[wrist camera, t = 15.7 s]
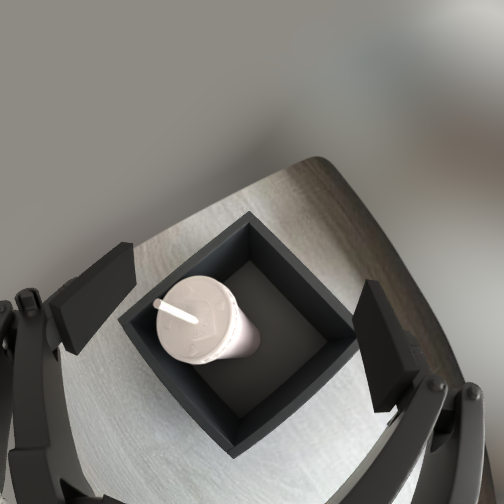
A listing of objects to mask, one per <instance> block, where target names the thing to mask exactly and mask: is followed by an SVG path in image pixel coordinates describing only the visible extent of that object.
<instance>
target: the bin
mask: <svg viewBox="0 0 504 504" xmlns="http://www.w3.org/2000/svg"><path fill="white" fill-rule="evenodd" d="M192 276H207V277H210V278H213V279H215V280H216V281H218V282H220V283H222V284H223V285H224V286H226V287H227V288H228V289H229V290H230V292H231V293H232V294H233V296H234V297H235V300H236V303H237V306H238V307H239V308H240V309H241V310H242V312H243V313H244V314H245V315H246V316H247V317H248V318H249V320H250V321H251V322H252V323H253V324H254V325H255V326H256V327H257V329H258V330H259V333H260V338H261V339H260V345H259V347H258V349H257V350H256V352H255V353H254V354H252V355H251V356H248V357H245V358H232V359H215V360H213V361H211V362H208V363H205V364H190V363H186V362H183V361H180V360H177V359H175V358H174V357H172V356H171V355H169V354H168V353H167V352H166V350H165V349H164V348H163V346H162V344H161V343H160V340H159V337H158V333H157V314H158V310H159V309H157V308H155V307H154V305H153V304H154V301H155V300H156V299H160V300H163V298H164V297H165V295H166V294H167V293H168V291H169V290H170V289H171V288H172V287H173V286H174V285H175V284H177V283H178V282H180V281H182V280H183V279H186V278H188V277H192ZM352 318H353V315H352V314H351V313H350V312H349V311H348V309H347V308H346V307H345V306H344V305H343V304H342V303H341V302H340V301H339V300H338V299H337V298H336V297H335V296H334V295H333V294H332V293H331V292H330V291H329V290H328V289H327V288H326V287H325V286H324V285H323V284H322V282H321V281H320V280H319V279H318V278H317V277H316V276H315V275H314V274H313V273H312V272H311V271H310V270H309V269H308V268H307V267H306V266H305V265H304V264H303V263H302V262H301V261H300V260H299V259H298V258H297V257H296V256H295V255H294V254H293V253H292V252H291V251H290V250H289V249H288V248H287V247H286V246H285V245H284V244H283V243H282V242H281V241H280V240H279V239H278V238H277V237H276V236H275V235H274V234H273V233H272V232H271V231H270V230H269V229H268V228H267V227H266V226H265V225H264V224H263V223H262V222H261V221H260V220H259V219H258V218H257V217H255V216H254V215H253V214H252V213H251V212H250V211H248V212H247V213H246V214H244V215H243V216H242V217H241V218H239V219H238V220H237V221H236V222H234V223H233V224H232V225H230V226H229V227H228V228H227V229H225V230H224V231H223V232H222V233H220V234H219V235H218V236H217V237H215V238H214V239H213V240H212V241H210V242H209V243H208V244H207V245H205V246H204V247H203V248H202V249H200V250H199V251H198V252H197V253H196V254H194V255H193V256H192V257H191V258H189V259H188V260H187V261H186V262H184V263H183V264H182V265H181V266H180V267H178V268H177V269H176V270H175V271H174V272H172V273H171V274H170V275H169V276H168V277H166V278H165V279H164V280H163V281H162V282H160V283H159V284H158V285H157V286H156V287H154V288H153V289H152V290H151V291H150V292H149V293H147V294H146V295H145V296H144V297H143V298H142V299H140V300H139V301H138V302H137V303H136V304H135V305H133V306H132V307H131V308H130V309H129V310H128V311H126V312H125V313H124V314H123V315H122V316H121V317H120V318H118V321H119V323H120V324H121V326H122V327H123V329H124V331H125V332H126V334H127V335H128V337H129V338H130V340H131V341H132V343H133V344H134V346H135V347H136V349H137V350H138V351H139V353H140V354H141V356H142V357H143V358H144V360H145V361H146V362H147V364H148V365H149V366H150V368H151V369H152V370H153V372H154V373H155V374H156V376H157V377H158V378H159V379H160V381H161V382H162V383H163V384H164V386H165V387H166V388H167V389H168V391H169V392H170V393H171V394H172V395H173V397H174V398H175V399H176V400H177V401H178V402H179V404H180V405H181V406H182V407H183V408H184V409H185V411H186V412H187V413H188V414H189V415H190V416H191V417H192V418H193V419H194V420H195V422H196V423H197V424H198V425H199V426H200V427H201V428H202V429H203V430H204V431H205V432H206V433H207V434H208V435H209V436H210V437H211V438H212V439H213V440H214V441H215V442H216V443H217V444H218V445H219V446H220V447H221V448H222V449H223V450H224V451H225V452H227V454H229V455H230V456H231V457H232V458H233V459H235V458H236V457H237V456H239V455H240V454H242V453H243V452H245V451H246V450H247V449H249V448H250V447H252V446H253V445H254V444H256V443H257V442H258V441H260V440H261V439H262V438H264V437H265V436H266V435H267V434H269V433H270V432H271V431H273V430H274V429H275V428H276V427H278V426H279V425H280V424H281V423H282V422H284V421H285V420H286V419H287V418H288V417H290V416H291V415H292V414H293V413H294V412H296V411H297V410H298V409H299V408H300V407H301V406H302V405H303V404H305V403H306V402H307V401H308V400H309V399H310V398H311V397H312V396H313V395H314V394H316V393H317V392H318V391H319V390H320V389H321V388H322V387H323V386H324V385H325V384H326V383H327V382H328V381H329V380H330V379H331V378H332V377H333V376H334V375H335V374H336V373H337V372H338V371H339V370H340V369H341V368H342V367H343V366H344V365H345V364H346V363H347V362H348V361H349V360H350V359H351V358H352V357H353V355H354V354H355V353H356V352H357V351H358V350H359V349H360V348H359V345H358V341H357V337H356V333H355V330H354V326H353V322H352Z"/></svg>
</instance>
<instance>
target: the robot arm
mask: <svg viewBox="0 0 504 504" xmlns="http://www.w3.org/2000/svg"><path fill="white" fill-rule="evenodd" d="M136 285H137V283H136V274H135V264H134V252H133V244H132V243H126V242H121V243H120V244H119V245H117V246H116V247H115V248H113V249H112V250H111V251H109V252H108V253H107V254H106V255H104V256H103V257H102V258H101V259H99V260H98V261H97V262H96V263H95V264H93V265H92V266H91V267H89V268H88V269H87V270H86V271H84V273H82V274H81V275H80V276H79V277H75V278H73V279H71V280H69V281H68V282H66V283H65V284H64V285H63V286H62V287H61V288H59V289H58V291H56V292H55V293H54V294H53V295H51V296H50V297H49V298H48V299H47V300H46V301H45V302H43V303H42V301H41V298H40V295H39V291H38V290H37V289H35V288H26V289H23V290H21V291H20V292H18V294H16V296H15V301H16V304H17V306H18V309H19V310H13V307H12V304H11V302H10V301H7V300H5V301H0V504H8V502H7V501H6V500H5V499H4V498H3V497H2V491H3V487H4V481H5V471H6V457H7V446H8V437H9V430H10V423H11V418H12V412H13V425H14V437H15V448H14V449H12V450H10V451H9V453H8V460H9V467H10V473H11V479H12V484H13V489H14V493H15V498H16V501H17V504H125V503H123V502H120V501H118V500H116V499H114V498H111V497H109V496H107V495H105V494H104V496H103V498H101V497H95V495H94V492H93V490H92V488H91V486H90V485H89V483H88V482H87V480H86V479H85V477H84V475H83V472H82V469H81V466H80V462H79V459H78V455H77V452H76V448H75V444H74V440H73V436H72V432H71V427H70V422H69V417H68V412H67V406H66V400H65V393H64V386H63V378H62V368H61V357H60V349H59V347H58V345H59V344H60V343H61V342H62V343H63V345H64V348H65V350H66V351H68V352H70V353H72V354H74V355H77V356H78V354H79V353H80V352H81V350H82V349H83V348H84V347H85V345H86V344H87V343H88V342H89V340H90V339H91V338H92V337H93V335H94V334H95V333H96V332H97V330H98V329H99V328H100V327H101V326H102V324H103V323H104V322H105V321H106V320H107V318H108V317H109V316H110V315H111V314H112V312H113V311H114V310H115V309H116V308H117V307H118V305H119V304H120V303H121V302H122V301H123V300H124V298H125V297H126V296H127V295H128V294H129V293H130V291H131V290H132V289H133V288H134V287H135V286H136ZM352 322H353V326H354V330H355V333H356V337H357V341H358V345H359V348H360V352H361V356H362V360H363V364H364V368H365V373H366V377H367V381H368V386H369V390H370V395H371V399H372V404H373V409H374V413H380V412H390V411H391V410H392V408H393V407H394V406H395V405H397V409H398V412H397V413H396V414H395V415H394V416H393V417H392V419H391V420H390V421H389V422H388V423H387V425H388V426H387V428H386V429H385V431H384V432H383V434H382V435H381V436H380V438H379V439H378V441H377V442H376V444H375V445H374V446H373V448H372V449H371V450H370V452H369V453H368V454H367V456H366V457H365V458H364V460H363V461H362V462H361V463H360V465H359V466H358V467H357V468H356V470H355V471H354V472H353V473H352V474H351V476H350V477H349V478H348V479H347V480H346V481H345V483H344V484H343V485H342V486H341V487H340V488H339V489H338V490H337V491H336V493H335V494H334V495H333V496H332V497H331V498H330V499H329V500H328V501H327V502H326V503H325V504H392V502H393V501H394V499H395V498H396V496H397V495H398V493H399V492H400V490H401V488H402V487H403V485H404V484H405V482H406V480H407V479H408V477H409V475H410V474H411V472H412V470H413V468H414V466H415V465H416V463H417V461H418V459H419V457H420V455H421V453H422V451H423V449H424V447H425V445H426V443H427V446H426V451H425V455H424V459H423V464H422V468H421V471H420V475H419V479H418V482H417V485H416V489H415V492H414V495H413V498H412V501H411V504H477V503H478V498H479V492H480V486H481V479H482V470H483V459H484V442H485V412H484V396H483V392H482V390H481V388H480V387H479V386H478V385H476V384H474V383H471V382H467V383H465V384H464V385H463V386H462V387H461V389H460V390H459V389H455V388H450V387H448V386H447V383H446V382H445V380H444V379H443V378H442V377H440V376H439V375H436V374H433V373H432V371H431V369H430V366H429V364H428V362H427V360H426V358H425V355H424V353H423V351H422V349H421V347H420V345H419V343H418V341H417V339H416V337H415V336H414V335H413V334H412V333H411V332H410V331H403V329H402V327H401V325H400V323H399V320H398V318H397V316H396V314H395V312H394V310H393V308H392V306H391V304H390V302H389V300H388V298H387V297H386V295H385V293H384V291H383V289H382V287H381V285H380V283H379V281H374V280H367V279H366V281H365V284H364V287H363V290H362V293H361V296H360V298H359V301H358V304H357V307H356V310H355V312H354V315H353V318H352ZM3 340H4V342H5V344H6V345H5V348H3V346H2V344H3Z"/></svg>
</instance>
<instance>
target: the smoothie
mask: <svg viewBox="0 0 504 504" xmlns="http://www.w3.org/2000/svg"><path fill="white" fill-rule="evenodd" d="M153 305H154V307H155V308H157V309H159V310H158V314H157V333H158V337H159V340H160V343H161V344H162V346H163V348H164V349H165V350H166V352H167V353H168V354H169V355H171V356H172V357H174V358H175V359H177V360H180V361H183V362H186V363H190V364H205V363H208V362H211V361H213V360H215V359H232V358H245V357H248V356H251V355H252V354H254V353H255V352H256V350H257V349H258V347H259V345H260V339H261V338H260V333H259V330H258V329H257V327H256V326H255V325H254V324H253V323H252V322H251V321H250V320H249V318H248V317H247V316H246V315H245V314H244V313H243V312H242V310H241V309H240V308H239V307H238V306H237V303H236V300H235V297H234V296H233V294H232V293H231V292H230V290H229V289H228V288H227V287H226V286H224V285H223V284H222V283H220V282H218V281H216V280H215V279H213V278H210V277H207V276H192V277H188V278H186V279H183V280H182V281H180V282H178V283H177V284H175V285H174V286H173V287H172V288H171V289H170V290H169V291H168V293H167V294H166V295H165V297H164V298H163V300H160V299H156V300H155V301H154V304H153Z"/></svg>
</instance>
